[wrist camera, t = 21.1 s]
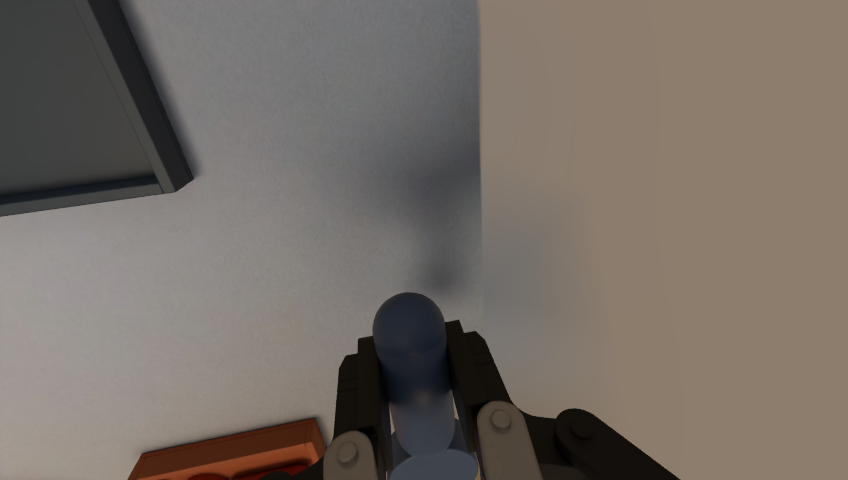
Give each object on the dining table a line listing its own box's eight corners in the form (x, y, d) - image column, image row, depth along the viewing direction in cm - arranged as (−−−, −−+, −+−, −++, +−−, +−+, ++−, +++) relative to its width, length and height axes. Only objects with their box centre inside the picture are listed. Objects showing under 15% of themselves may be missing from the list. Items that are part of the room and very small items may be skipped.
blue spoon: (342, 289, 12) (337, 339, 10) (457, 268, 12) (477, 313, 10) (392, 475, 17) (396, 533, 15) (471, 457, 17) (485, 512, 15)
